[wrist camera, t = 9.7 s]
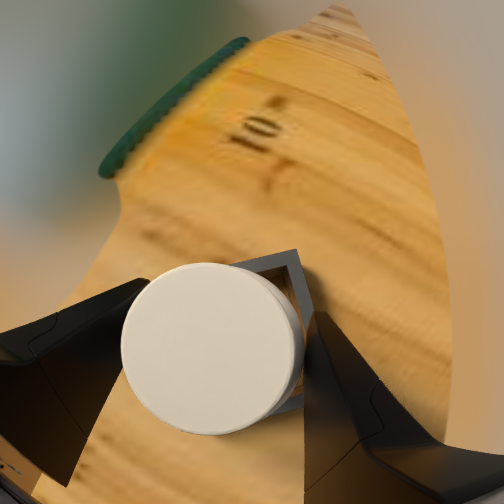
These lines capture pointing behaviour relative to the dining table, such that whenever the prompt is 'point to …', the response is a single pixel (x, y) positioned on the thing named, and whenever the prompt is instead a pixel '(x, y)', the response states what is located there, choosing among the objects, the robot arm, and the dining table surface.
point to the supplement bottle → (212, 348)
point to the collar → (299, 298)
